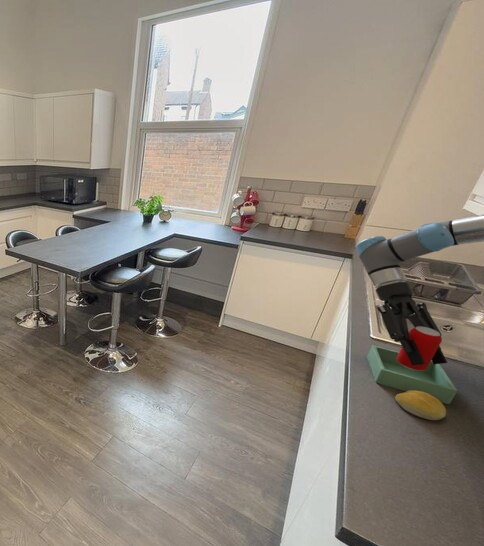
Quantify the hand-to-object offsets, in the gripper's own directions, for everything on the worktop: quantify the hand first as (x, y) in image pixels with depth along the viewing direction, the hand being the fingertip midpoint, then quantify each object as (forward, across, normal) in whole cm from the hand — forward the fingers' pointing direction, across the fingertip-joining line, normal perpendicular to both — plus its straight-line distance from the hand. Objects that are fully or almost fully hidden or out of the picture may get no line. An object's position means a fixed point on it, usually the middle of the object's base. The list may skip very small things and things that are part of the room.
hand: (429, 364), depth 85 cm
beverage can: (0, 0, -5) cm, 5 cm away
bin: (+3, 0, -8) cm, 9 cm away
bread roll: (+11, +9, -1) cm, 14 cm away
